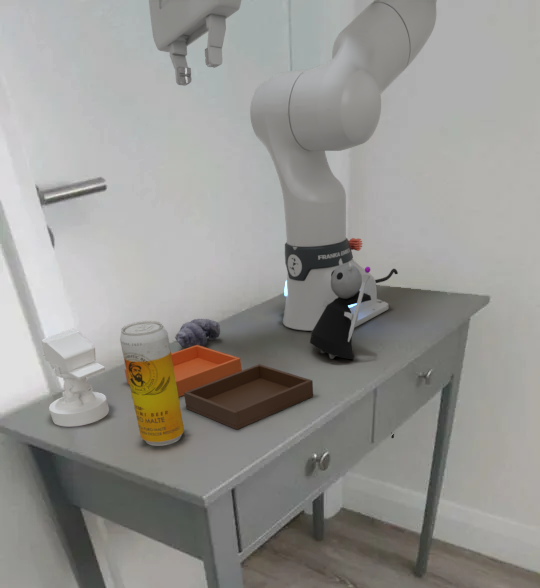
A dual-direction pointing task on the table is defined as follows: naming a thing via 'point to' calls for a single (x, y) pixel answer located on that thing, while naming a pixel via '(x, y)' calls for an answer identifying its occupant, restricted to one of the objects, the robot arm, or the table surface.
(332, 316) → the toy
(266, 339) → the table surface
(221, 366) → the can tray
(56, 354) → the character figurine
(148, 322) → the beer can
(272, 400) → the walnut tray
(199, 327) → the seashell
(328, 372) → the table surface
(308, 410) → the table surface
